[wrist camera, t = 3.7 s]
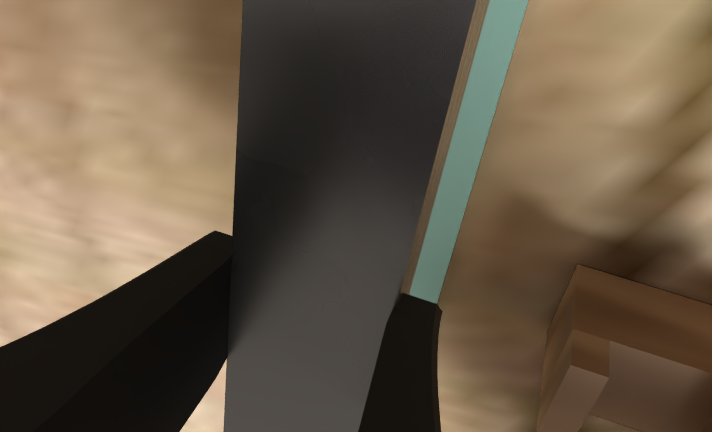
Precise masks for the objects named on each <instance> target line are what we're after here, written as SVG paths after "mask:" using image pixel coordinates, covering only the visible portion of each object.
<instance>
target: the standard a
mask: <svg viewBox="0 0 712 432" xmlns="http://www.w3.org/2000/svg"><path fill="white" fill-rule="evenodd" d="M588 414H591V415H594V416H597V417H600V418H603V419H606V420H609V421H612V422H615V423H617V424H620V425H623V426H626V427H629V428H632V429H635V430H638V431H641V432H712V305H709V304H706V303H703V302H700V301H696V300H693V299H690V298H687V297H683V296H680V295H677V294H673V293H670V292H667V291H664V290H660V289H657V288H654V287H651V286H647V285H644V284H641V283H637V282H634V281H631V280H628V279H624V278H621V277H618V276H615V275H611V274H608V273H605V272H601V271H598V270H595V269H592V268H588V267H585V266H582V265H579V264H578V265H577V267H576V269H575V271H574V273H573V276H572V278H571V280H570V282H569V284H568V287H567V289H566V291H565V293H564V295H563V297H562V300H561V302H560V304H559V306H558V308H557V311H556V313H555V315H554V317H553V319H552V322H551V324H550V326H549V328H548V330H547V339H546V348H545V356H544V365H543V374H542V383H541V391H540V400H539V409H538V418H537V426H536V432H579V430H580V428H581V427H582V425H583V423H584V421H585V420H586V418H587V416H588Z"/></svg>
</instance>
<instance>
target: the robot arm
mask: <svg viewBox="0 0 712 432" xmlns="http://www.w3.org/2000/svg"><path fill="white" fill-rule="evenodd" d="M231 257H232V236H230V235H227V234H224V233H221V232H218V231H213V232H211V233H209V234H208V235H206V236H204V237H203V238H201V239H199V240H197V241H196V242H194V243H193V244H191V245H189V246H188V247H186V248H184V249H183V250H181V251H179V252H178V253H176V254H175V255H173V256H171V257H170V258H168V259H166V260H165V261H163V262H161V263H160V264H158V265H156V266H155V267H153V268H151V269H150V270H148V271H146V272H145V273H143V274H141V275H140V276H138V277H136V278H134V279H133V280H131V281H129V282H127V283H126V284H124V285H122V286H120V287H119V288H117V289H115V290H113V291H112V292H110V293H108V294H106V295H105V296H103V297H101V298H99V299H97V300H96V301H94V302H92V303H90V304H88V305H86V306H84V307H82V308H80V309H78V310H76V311H74V312H72V313H70V314H69V315H67V316H65V317H63V318H61V319H59V320H57V321H55V322H53V323H51V324H49V325H47V326H45V327H43V328H41V329H39V330H37V331H35V332H33V333H30V334H28V335H26V336H24V337H22V338H20V339H18V340H15V341H13V342H11V343H9V344H7V345H4V346H2V347H0V432H179V431H180V430H181V429H182V427H183V426H184V424H185V423H186V421H187V420H188V418H189V417H190V416H191V414H192V413H193V411H194V410H195V408H196V407H197V405H198V404H199V402H200V401H201V399H202V398H203V397H204V395H205V394H206V392H207V391H208V389H209V388H210V386H211V385H212V383H213V382H214V380H215V379H216V377H217V375H218V373H219V372H220V370H221V368H222V366H223V364H224V362H225V360H226V359H227V346H228V324H229V302H230V279H231ZM441 315H442V310H441V309H440V307H439V306H438V304H436V303H433V302H430V301H427V300H424V299H421V298H418V297H415V296H411V295H408V294H405V293H402V296H401V298H400V300H399V303H398V305H397V307H396V310H393V309H392V312H391V314H390V316H389V318H388V321H387V323H386V327H385V331H384V334H383V338H382V342H381V346H380V350H379V354H378V357H377V361H376V365H375V369H374V373H373V377H372V380H371V384H370V388H369V392H368V396H367V400H366V403H365V407H364V411H363V415H362V419H361V423H360V426H359V430H358V432H441V425H440V412H439V398H438V379H437V352H438V335H439V327H440V320H441Z"/></svg>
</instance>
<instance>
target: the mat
mask: <svg viewBox="0 0 712 432" xmlns="http://www.w3.org/2000/svg"><path fill="white" fill-rule="evenodd" d="M528 1H529V0H490V2H489V5H488V9H487V12H486V16H485V20H484V23H483V27H482V31H481V34H480V38H479V42H478V45H477V49H476V53H475V56H474V60H473V64H472V67H471V71H470V74H469V78H468V82H467V85H466V89H465V93H464V96H463V100H462V104H461V107H460V111H459V115H458V118H457V122H456V126H455V129H454V133H453V136H452V140H451V144H450V147H449V151H448V155H447V158H446V162H445V166H444V169H443V173H442V177H441V180H440V184H439V187H438V191H437V195H436V198H435V202H434V206H433V209H432V213H431V217H430V220H429V224H428V228H427V231H426V235H425V239H424V242H423V246H422V249H421V253H420V257H419V260H418V264H417V268H416V271H415V275H414V279H413V282H412V286H411V290H410V293H409V295H411V296H415V297H418V298H421V299H424V300H427V301H430V302H433V303H436V304H437V302H438V299H439V295H440V292H441V289H442V286H443V282H444V279H445V276H446V272H447V269H448V266H449V262H450V259H451V256H452V252H453V249H454V246H455V242H456V239H457V236H458V233H459V229H460V226H461V223H462V219H463V216H464V213H465V209H466V206H467V203H468V199H469V196H470V193H471V189H472V186H473V183H474V180H475V176H476V173H477V170H478V166H479V163H480V160H481V156H482V153H483V150H484V146H485V143H486V140H487V136H488V133H489V130H490V126H491V123H492V120H493V117H494V113H495V110H496V107H497V103H498V100H499V97H500V93H501V90H502V87H503V83H504V80H505V77H506V73H507V70H508V67H509V64H510V60H511V57H512V54H513V50H514V47H515V44H516V40H517V37H518V34H519V30H520V27H521V24H522V20H523V17H524V14H525V11H526V7H527V4H528Z"/></svg>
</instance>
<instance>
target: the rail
mask: <svg viewBox="0 0 712 432" xmlns="http://www.w3.org/2000/svg"><path fill="white" fill-rule="evenodd" d="M489 2H490V0H243V13H242V35H241V57H240V79H239V102H238V124H237V146H236V168H235V190H234V213H233V235H232V257H231V279H230V302H229V324H228V346H227V368H226V390H225V413H224V432H358V430H359V426H360V423H361V419H362V415H363V411H364V407H365V403H366V400H367V396H368V392H369V388H370V384H371V380H372V377H373V373H374V369H375V365H376V361H377V357H378V354H379V350H380V346H381V342H382V338H383V334H384V331H385V327H386V323H387V321H388V318H389V316H390V314H391V312H392V309H393V310H396V307H397V305H398V303H399V300H400V298H401V296H402V293H405V294H408V295H409V293H410V290H411V286H412V282H413V279H414V275H415V271H416V268H417V264H418V260H419V257H420V253H421V249H422V246H423V242H424V239H425V235H426V231H427V228H428V224H429V220H430V217H431V213H432V209H433V206H434V202H435V198H436V195H437V191H438V187H439V184H440V180H441V177H442V173H443V169H444V166H445V162H446V158H447V155H448V151H449V147H450V144H451V140H452V136H453V133H454V129H455V126H456V122H457V118H458V115H459V111H460V107H461V104H462V100H463V96H464V93H465V89H466V85H467V82H468V78H469V74H470V71H471V67H472V64H473V60H474V56H475V53H476V49H477V45H478V42H479V38H480V34H481V31H482V27H483V23H484V20H485V16H486V12H487V9H488V5H489Z"/></svg>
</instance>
